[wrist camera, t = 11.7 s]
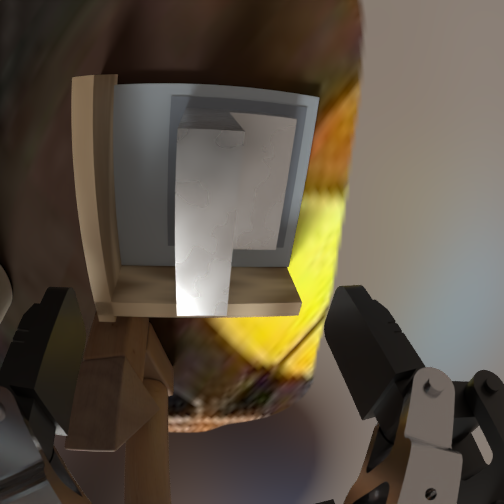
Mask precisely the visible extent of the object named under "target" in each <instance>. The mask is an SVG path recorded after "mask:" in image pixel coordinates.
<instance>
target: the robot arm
mask: <svg viewBox="0 0 504 504" xmlns="http://www.w3.org/2000/svg"><path fill="white" fill-rule="evenodd" d="M17 329H18V331H16V332H15V335H14V337H13V342H11V344H10V347H9V349H8V352H7V354H6V357H5V359H4V362H3V365H2V367H1V370H0V504H92V503H91V502H90V500H89V499H88V498H87V497H86V495H85V494H84V492H83V491H82V490H81V488H80V487H79V485H78V484H77V482H76V481H75V479H74V478H73V476H72V474H71V473H70V471H69V470H68V468H67V466H66V465H65V463H64V461H63V460H62V458H61V457H60V455H59V453H58V451H57V449H56V448H55V446H54V438H55V434H58V435H64V436H68V430H69V423H70V417H71V411H72V405H73V399H74V394H75V388H76V383H77V378H78V374H79V369H80V364H81V360H82V355H83V351H84V347H85V341H86V333H85V326H84V322H83V319H82V316H81V312H80V309H79V305H78V302H77V298H76V294H75V291H74V290H73V288H66V287H49V288H48V289H47V290H46V292H45V295H44V297H43V299H42V301H41V303H40V304H36V303H34V304H33V305H32V307H31V308H30V309H29V310H28V311H27V312H26V313H25V314H24V315H23V317H22V319H21V321H20V323H19V326H18V328H17ZM324 332H325V337H326V340H327V343H328V345H329V347H330V349H331V351H332V354H333V355H334V358H335V360H336V362H337V365H338V366H339V369H340V371H341V373H342V376H343V378H344V380H345V382H346V384H347V386H348V389H349V391H350V393H351V396H352V398H353V400H354V403H355V405H356V407H357V409H358V412H359V414H360V416H361V419H362V420H365V419H369V418H372V417H376V419H377V421H378V423H377V424H376V426H375V428H374V431H373V434H372V437H371V441H370V444H369V447H368V450H367V454H366V457H365V460H364V463H363V466H362V469H361V472H360V474H359V476H358V478H357V480H356V482H355V483H354V485H353V486H352V487H351V489H350V490H349V492H348V494H347V496H346V498H345V500H344V503H343V504H504V384H503V382H502V381H501V380H500V378H499V377H498V376H497V375H495V374H494V373H492V372H490V371H487V370H481V371H478V372H477V373H476V374H475V375H474V377H473V378H472V379H471V380H470V381H469V382H460V381H451V379H450V378H449V377H448V376H447V375H446V374H445V373H444V372H442V371H440V370H438V369H436V368H432V367H425V365H424V364H423V362H422V361H421V359H420V357H419V356H418V354H417V353H416V351H415V350H414V348H413V347H412V345H411V344H410V342H409V340H408V339H407V338H406V336H405V334H404V333H402V330H401V329H400V327H399V325H398V324H397V323H395V320H394V318H393V317H392V315H391V314H390V312H389V311H388V310H387V309H386V308H385V307H384V306H383V305H381V304H380V303H379V302H378V301H376V300H372V299H371V297H370V295H369V294H368V292H367V291H366V289H365V288H364V287H363V286H361V285H353V286H339V287H338V288H337V289H336V291H335V294H334V297H333V300H332V303H331V306H330V309H329V312H328V315H327V317H326V320H325V325H324ZM478 426H480V428H481V429H482V431H483V433H484V435H485V437H486V439H487V441H488V443H489V446H490V448H491V450H492V452H493V459H492V462H491V463H490V465H488V464H486V463H485V461H484V459H483V457H482V455H481V452H480V450H479V448H478V446H477V444H476V442H475V440H474V438H473V436H472V434H471V432H472V431H474V430H475V429H476V428H477V427H478ZM316 504H335V503H334V500H333V499H332V500H328V501H324V502H321V503H316Z"/></svg>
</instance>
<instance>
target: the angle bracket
mask: <svg viewBox="0 0 504 504" xmlns="http://www.w3.org/2000/svg"><path fill="white" fill-rule="evenodd" d="M296 122H297V119H296V118H294V117H292V116H288V115H280V114H271V113H262V112H251V111H240V110H226V109H208V108H186V109H185V112H184V114H183V116H182V119H181V121H180V124H179V126H178V131H177V152H176V182H175V271H176V301H177V316H226V315H227V307H228V296H229V285H230V274H231V263H232V252H233V249H248V250H276V245H277V240H278V234H279V228H280V222H281V216H282V210H283V204H284V198H285V192H286V186H287V180H288V174H289V167H290V161H291V155H292V148H293V142H294V135H295V129H296Z"/></svg>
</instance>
